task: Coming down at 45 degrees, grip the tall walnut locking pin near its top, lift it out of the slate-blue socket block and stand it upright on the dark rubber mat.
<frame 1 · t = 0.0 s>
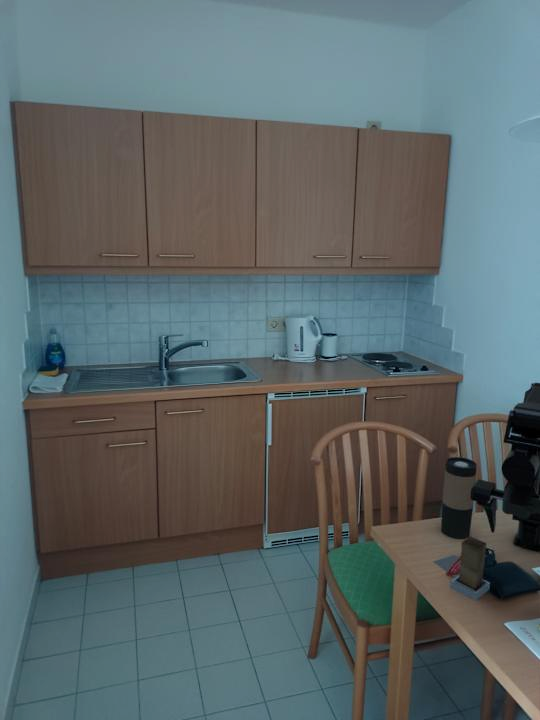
hand: (516, 538, 109), 15 cm above the table, tool pointing down, fingers open, 9 cm apart
socket block: (469, 589, 115), on the table
travel mug: (454, 534, 139), on the table
pin: (469, 588, 115), resting on socket block
mat: (454, 567, 124), on the table
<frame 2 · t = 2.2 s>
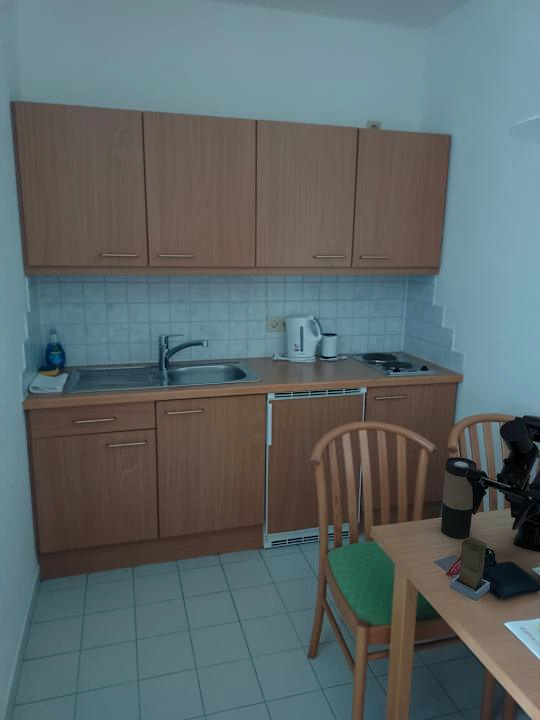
hand: (492, 521, 118), 14 cm above the table, tool tilted 45°, fingers open, 9 cm apart
nothing on the table moved.
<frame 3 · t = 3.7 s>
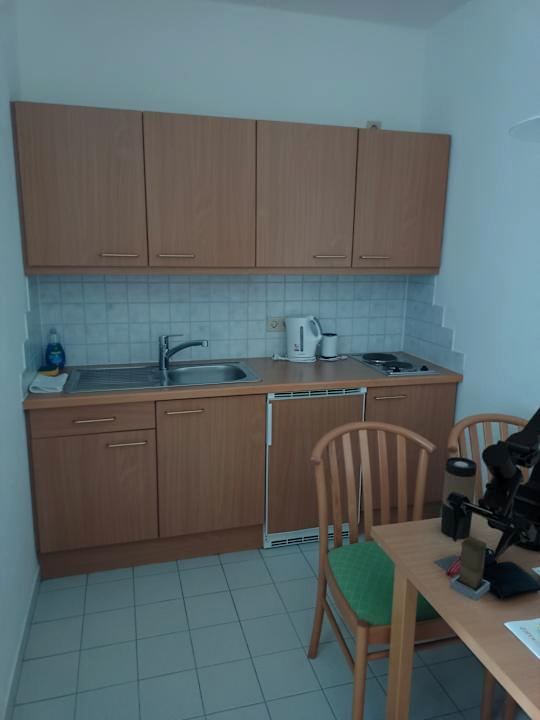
hand: (473, 549, 114), 10 cm above the table, tool tilted 45°, fingers open, 9 cm apart
nothing on the table moved.
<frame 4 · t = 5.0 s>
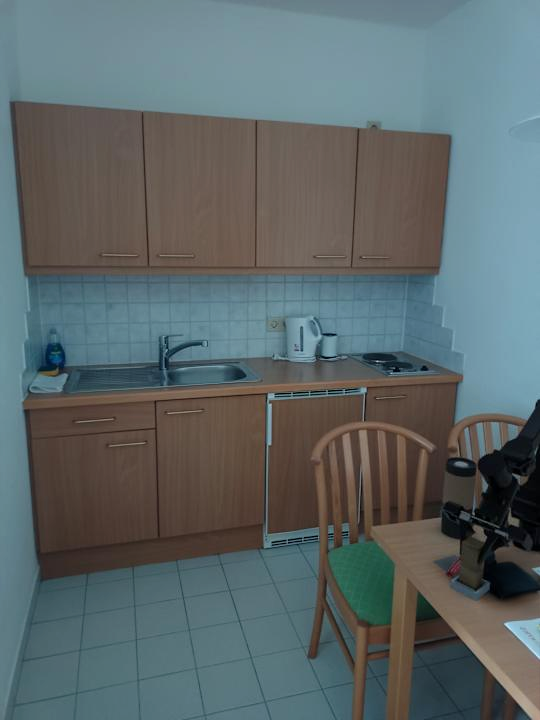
hand: (469, 559, 113), 8 cm above the table, tool tilted 45°, fingers closed on pin, 4 cm apart
pin: (469, 588, 115), resting on socket block, touching gripper
everything else where it was.
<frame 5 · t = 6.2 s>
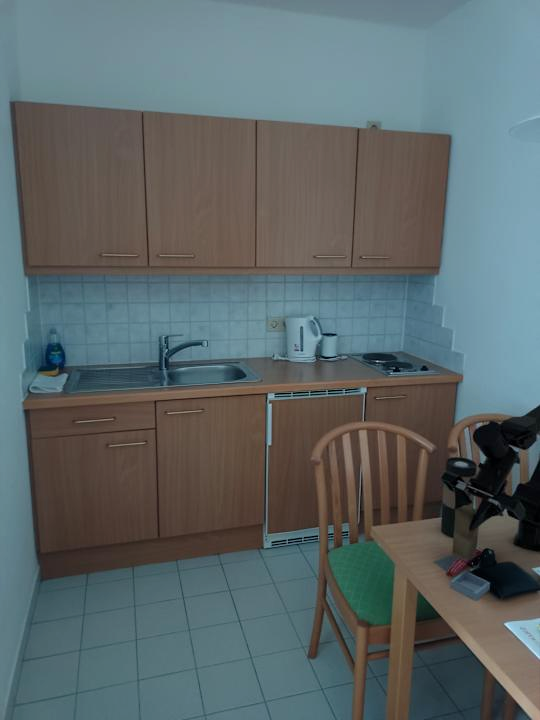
hand: (462, 526, 116), 13 cm above the table, tool tilted 45°, fingers closed on pin, 4 cm apart
pin: (463, 555, 119), point 6 cm above the table, touching gripper
everything else where it was.
when the fingers open (9 cm above the table, at t = 7.8 s): pin stays where it is, resting on mat.
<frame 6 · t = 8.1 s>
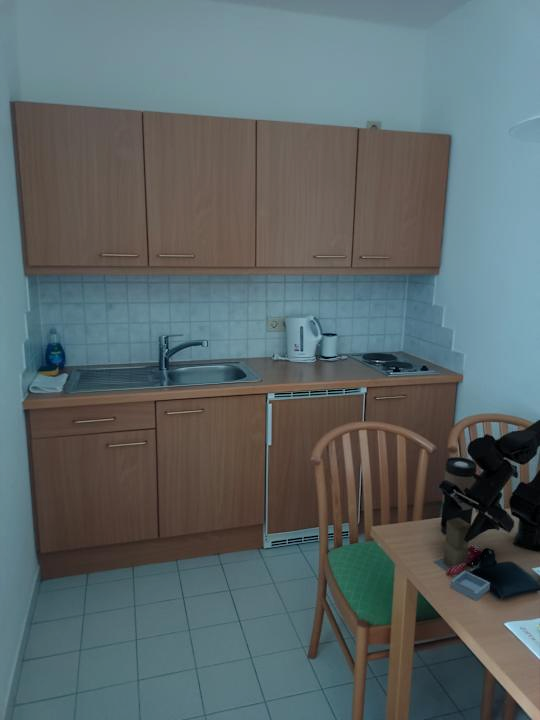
hand: (453, 533, 122), 9 cm above the table, tool tilted 45°, fingers open, 7 cm apart
pin: (454, 565, 124), resting on mat
everything else where it was.
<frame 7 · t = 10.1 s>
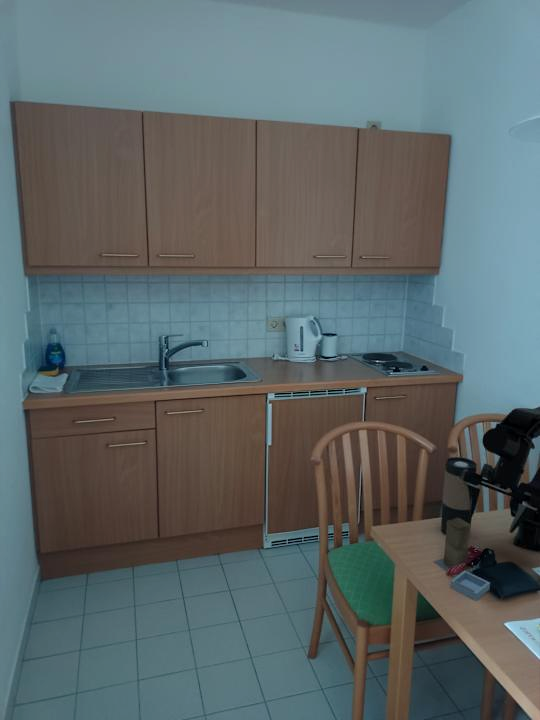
hand: (490, 524, 123), 11 cm above the table, tool tilted 25°, fingers open, 9 cm apart
nothing on the table moved.
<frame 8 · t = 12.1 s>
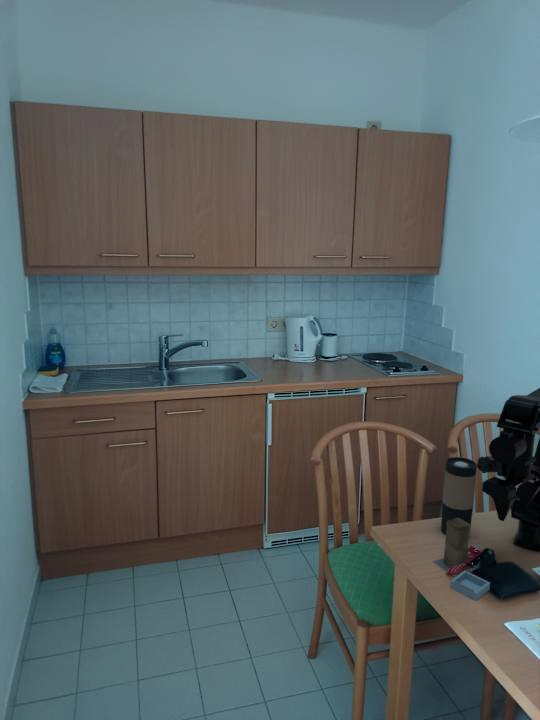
hand: (512, 514, 123), 13 cm above the table, tool pointing down, fingers open, 9 cm apart
nothing on the table moved.
at the end: pin inside the target area on the mat (0.0 cm from its centre), point 0.4 cm above the mat's base; pin tilted 0°; the gripper is holding nothing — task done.
